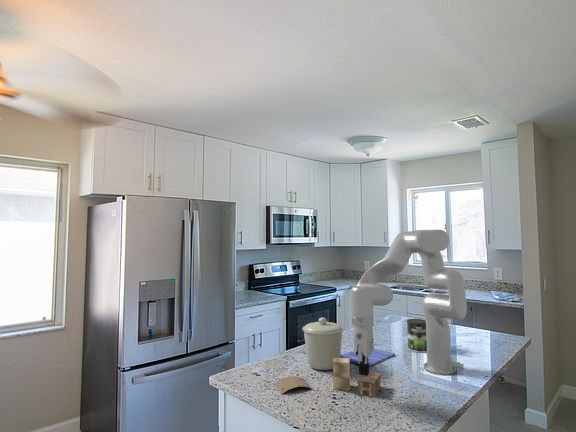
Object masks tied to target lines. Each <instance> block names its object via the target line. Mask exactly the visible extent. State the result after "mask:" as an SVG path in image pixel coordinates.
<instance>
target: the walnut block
mask: <svg viewBox="0 0 576 432" xmlns="http://www.w3.org/2000/svg"><path fill="white" fill-rule="evenodd" d="M380 389H381V373H378V372H374V371H369V374H368V376H365V375H360V376H359V378H358V379H357V395H361V396H366V397H372V398H376V396H377V394H378V392H379V390H380Z"/></svg>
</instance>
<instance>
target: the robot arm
mask: <svg viewBox="0 0 576 432" xmlns="http://www.w3.org/2000/svg"><path fill="white" fill-rule="evenodd" d="M449 245H450V236H449V234H448V233H447V232H446V231H445V230H443V229H416V230H411V231H401V232H399V233H398V234H396V236H395V238H394V239H393V241H392V243H391V244H390V246H389V248H388V250H387V251H386V253H385V254H384V257H383V258H382V259H381V260H379V261H377V262H376V263H374V264H373V265H372V266H371V267H369V268H368V269H367V270H366V271H364V273H363V274H362V275H361V277H360V279H359V280H358V281H359V282H358V283H357V285H355V286H352V288H351V290H350V295H351V296H350V297H351V298H350V299H351V300H350V301H351V305H350V306H351V326H352V327H354V328H353V330H354V331H353V350H354V354H355V356H357V355H358V361H359V366H358V375H360V376H361V375H365V376H368V374H369V372H370V367H369V363H367V362H369V356H370V355H371V354H372V352H373V351H374V349H375V345H374V332H373V331H374V329H373V327H374V326H375V325H374V324H375V323H374V307H375V306H379V307H380V306H381V307H384V306H387V305H389V304H391V302H392V301H393V299H394V292H393V289H392V288H390V287H389V286H388V285H386V284H380V283H379V282H380V281H382V280H383V279H385V278H388V277H391V276H394V275H397V274H400V273H401V272H403V271H404V269H405V267H406V266H407V264H408V262H409V260H410V258H411V256H412V255H413V254H418V255H419V257H420V260H421V267H422V276H423V283H424V286H425V288H426V289H427V290H430V291H435V292H440V293H435V292H434V293H433V292H432V293H431V292H430V293H428V294H425V296H424V297H423V298H422V308H423V313H424V320H426V341H427V352H426V362H425V363H424V364H423V369H424V370H426V371H427V372H429V373H432V374H434V375H435V374H436V375H444V376H445V375H452V374H455V373H456V372H457V369H459V370H464V363H461V362H460V361H459V362H457V361H454V360H453V357H452V345H451V343H452V342H451V326H450V323H449V321H448V319H449V320H455V321H461V320H463V319H464V318H465V317H466V315H467V312H468V311H467V310H468V306H467V297H466V296H467V295H466V286H465V285H466V284H465V279H464V276H463V275H462V273H461V272H460V271H458V270H456V269H450V268H449V269H448V268H445V265H444V258H443V255H442V253H441V252H442V251H445V250H447V248H448V247H449ZM445 293H447V294H445Z"/></svg>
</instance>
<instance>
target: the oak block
mask: <svg viewBox="0 0 576 432" xmlns="http://www.w3.org/2000/svg"><path fill="white" fill-rule="evenodd" d="M350 367H351V363H350V358H334V359H333V369H332V375H333V376H332V380H333V383H332V384H333V388H332V389H333V390H336V391H347V392H348V391H351V368H350Z"/></svg>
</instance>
